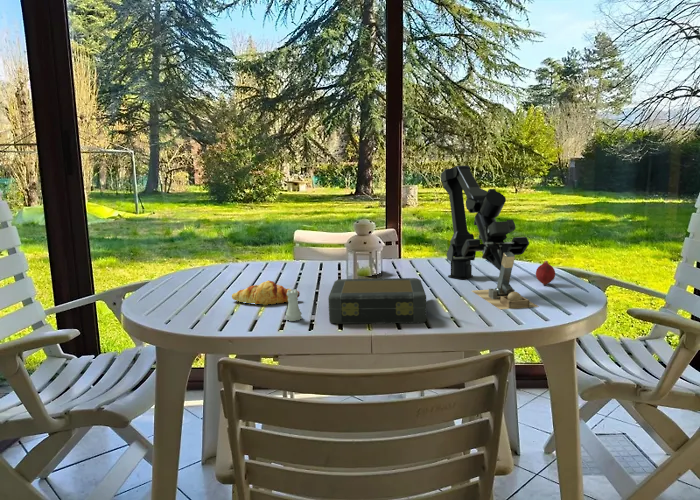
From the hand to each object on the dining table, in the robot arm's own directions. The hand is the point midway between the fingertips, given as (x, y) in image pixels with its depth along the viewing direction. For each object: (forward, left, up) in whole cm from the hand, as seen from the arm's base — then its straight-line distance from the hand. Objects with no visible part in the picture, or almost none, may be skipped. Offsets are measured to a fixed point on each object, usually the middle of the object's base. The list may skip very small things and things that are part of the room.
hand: (503, 271), depth 136 cm
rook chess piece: (-33, -49, -9) cm, 60 cm away
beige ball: (+6, -4, -8) cm, 11 cm away
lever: (0, 0, -8) cm, 8 cm away
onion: (-1, +28, -9) cm, 29 cm away
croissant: (-54, -45, -10) cm, 71 cm away
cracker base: (0, 0, -9) cm, 9 cm away
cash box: (-21, -30, -10) cm, 38 cm away
